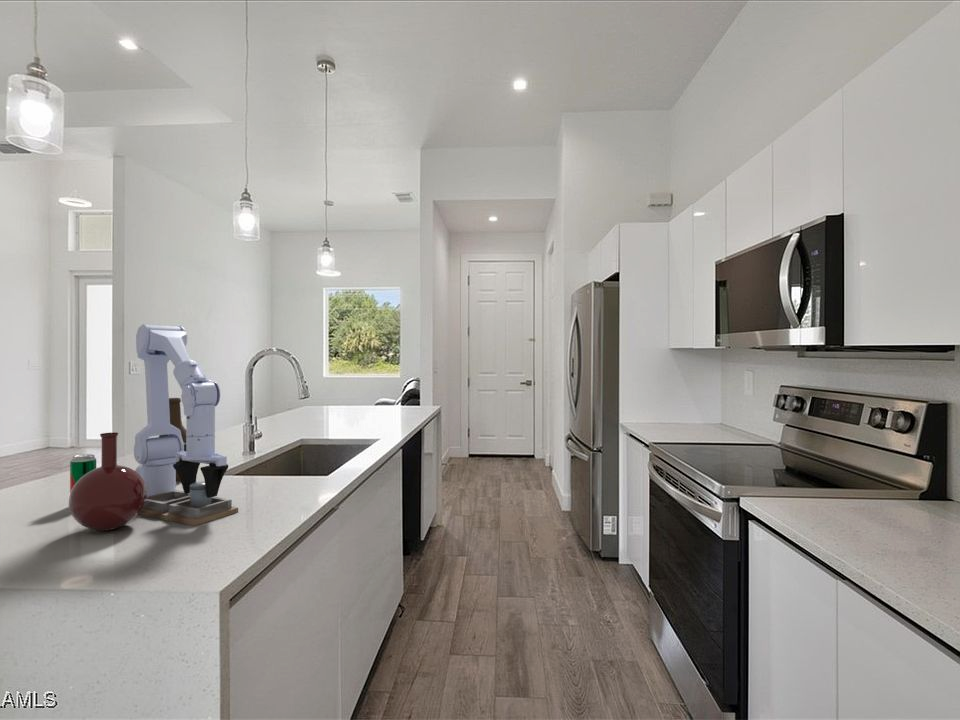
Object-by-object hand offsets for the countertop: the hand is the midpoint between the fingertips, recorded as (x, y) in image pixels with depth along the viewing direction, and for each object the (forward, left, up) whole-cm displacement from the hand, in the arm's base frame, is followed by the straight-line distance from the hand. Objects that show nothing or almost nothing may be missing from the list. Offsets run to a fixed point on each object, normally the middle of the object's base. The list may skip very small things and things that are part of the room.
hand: (200, 494), depth 115 cm
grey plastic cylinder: (0, 0, -3) cm, 4 cm away
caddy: (-5, 0, -5) cm, 7 cm away
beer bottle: (-37, +19, -5) cm, 42 cm away
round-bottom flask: (-9, -14, -5) cm, 18 cm away
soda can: (-32, -7, -5) cm, 34 cm away
